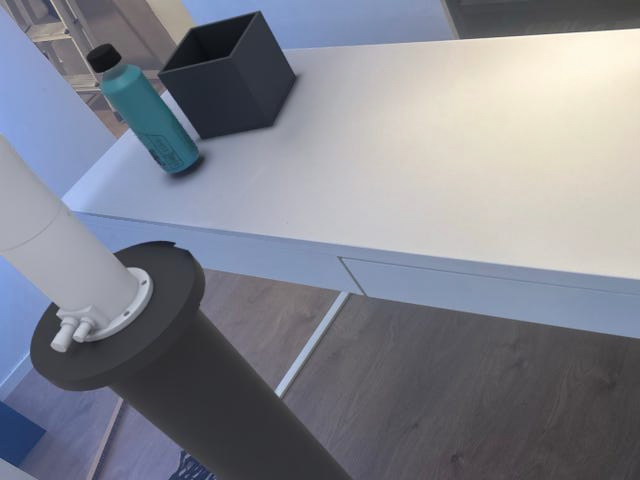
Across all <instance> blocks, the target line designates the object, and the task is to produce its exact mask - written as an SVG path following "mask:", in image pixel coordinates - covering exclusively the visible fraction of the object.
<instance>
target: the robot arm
mask: <svg viewBox="0 0 640 480" xmlns="http://www.w3.org/2000/svg"><path fill="white" fill-rule="evenodd" d="M0 256H1V257H2V258H4V259H5V261H7V263H9V264H10V265H11V266H12V267H13V268H15V269H16V270H17V271H18V272H19V273H20V274H21V275H23V277H25V278H26V280H28V281H29V282H30V283H32V284H33V285H34V287H36V288H37V289H38V290H39V291H41V292H42V294H44V295H45V296H46V297H47V298H48V299H49V300H50V301H51V302H52V301H53V302H54V303H55V304H56V305H57V306H58V307H59V308H60V309H59V311H58V312H57V314H56V315H57V316H58V317H59V318H60V319H62V320H63V321H62V322H61V324H60V325H61V327H62V328H61V330H60V331H59V333H57V335H56V337H55V338H54V340H53V341H52V343H51V347H52V348H53V349H55V350H57V351H59V352H66V351H67V349H68V347H69V346H70V344H71V342H72V341H73V340H72V339H74V340H75V341H78V342H83V341H87V342H90V341H97V340H101V339H104V338H107V337H109V336H111V335H114V334H115V333H117V332H119V331H121V330H122V329H123V328H125V327H126V326H128V325H129V324H130V323H131V322H132V321H134V320H135V319H136V318H137V317H138V316H139V315H140V313H141V312H142V311H143V310H144V308H145V307H146V306H147V304H148V302H149V300H150V299H151V296H152V293H153V286H154V285H153V280H152V279H151V277H150V276H149V275H148V274H147V273H146V272H145V271H144V270H142V269H139V268H126V267H125V266H124V265H123V264H122V263H121V262H120V261H119V260H118V259H117V258H116V257H115V256H114V255H113V252H112V251H111V250H110V249H109V248H108V246H106V245H105V244H104V243H103V242H102V241H101V240H100V238H98V237H97V235H95V233H93V232H92V231H91V229H90V228H89V227H88V226H87V225H86V224H85V223H84V222H83V220H81V219H80V218H79V217H78V216H77V214H75V213H74V212H73V210H72V209H71V208H69V206H68V205H67V204H66V203H65V202H64V201H63V199H61V198H60V197H59V196H58V195H57V194H56V193H55V192H54V191H53V190H52V189H51V188H50V187H49V186H48V185H47V184H46V182H44V180H43V179H42V178H41V177H40V176H39V175H38V174H37V173H36V172H35V171H34V170H33V169H32V167H31V166H30V165H29V164H28V163H27V162H26V161H25V159H24V158H23V157H22V155H21V154H20V153H19V152H18V150H16V148H15V147H14V145H12V144H11V142H10V141H9V139H8V138H7V137H6V136H5V135H4V134H3V133H2V132H1V131H0Z"/></svg>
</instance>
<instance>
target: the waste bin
mask: <svg viewBox="0 0 640 480" xmlns="http://www.w3.org/2000/svg"><path fill="white" fill-rule="evenodd" d="M156 76H157V78H158V79H159V80H160V82H161V83H162V84H163V87H165V89H166V90H167V92H168V93H169V94H170V96H171V97H172V100H174V102H175V103H176V105H177V106H178V107H179V109H180V110H181V111H182V114H183V115H184V116H185V117H186V119H187V120H188V122H189V123H190V124H191V126H192V127H193V129H194V130H195V131H196V133H197V134H198V136H199V137H200V139H201V140H206V139H212V138H215V137H216V138H217V137H221V136H226V135H231V134H236V133H242V132H246V131H252V130H258V129H263V128H267V127H272V126H273V124H274V122H275V120H276V118H277V116H278V115H279V112H280V110H281V109H282V106H283V104H284V103H285V101H286V99H287V97H288V95H289V93H290V91H291V89H292V87H293V85H294V83H295V81H296V79H297V75H296V74H295V72H294V70H293V68H292V67H291V65H290V63H289V61H288V59H287V57H286V55H285V53H284V52H283V50H282V48H281V45H280V44H279V43H278V40H277V39H276V37H275V34H274V33H273V31H272V29H271V27H270V26H269V24H268V22H267V20H266V18H265V17H264V14H263V12H262V11H261V10H256V11H252V12H248V13H244V14H241V15H237V16H233V17H232V16H231V17H228V18H223V19H221V20H216V21H212V22H209V23H205V24H201V25H197V26H193V27H190V28H189V29H188V31H187V32H186V33H185V35H184V36H183V38H181V40H180V42H179V43H178V45H177V46H176V47H175V48H174V50H173V51H172V53H171V54H170V56H169V57H168V58H167V60H166V61H165V63H164V64H163V65H162V67H161V68H160V69H159V71H158V73H157V74H156Z"/></svg>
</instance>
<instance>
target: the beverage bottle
mask: <svg viewBox="0 0 640 480" xmlns="http://www.w3.org/2000/svg"><path fill="white" fill-rule="evenodd" d="M122 58H123V57H122V55H121V53H120V52H119V51H118V50H117V49H116V48H115V46H113V45H112V43H109V42H107V43H103V44H100V45H98V46H96V47H94V48H93V49H92V50H91V51H89V52H88V53H87V54H86V57H85V59H86V61H87V62H88V64H89V66H90V67H91V69H92V71H93V72H94V73H96V74H102V73H105V72H106V73H105V74H104V75H103V76H102V78H101V81H100V92H101V94H102V95H103V96H104V97H105V98H106V100H107V101H108V102H109V103H110V104H111V106H112V107H113V108H114V110H115V111H116V112H117V113H118V114H119V116H120V118H121V120H122V121H123V122H124V123H125V124H126V126H127V127H128V128H129V129H130V131H132V133H133V135H134V136H135V137H136V138H137V140H138V141H139V142H140V144H141V145H142V146H143V147H144V148H145V150H146V151H147V153H149V155H150V156H151V157H152V159H153V160H154V162H155V163H156V164H157V165H158V166H159V167H160V168H161V169H162V171H165V172H166V173H167V174H176V173H179V172H181V171H184V170H185V169H187V168H189V167H191V165H193V164H194V163H195V162H196V161H197V159H198V158H199V156H200V150H199V146H198V145H197V144H196V141H195V140H194V139H193V137H192V136H191V135H190V134H189V132H188V130H187V129H186V128H185V127H184V125H183V124H182V123H181V122H180V120H179V119H178V117H177V116H176V115H175V113H174V111H173V110H172V109H171V108H170V106H169V105H168V104H167V102H166V101H165V100H163V98H162V97H161V95H160V94H159V93H158V92H157V90H156V88H155V87H154V86H153V84H152V83H151V81H149V79H148V78H147V76H146V75H145V73H143V70H142V69H141V68H140V67H139V66H137V65H133V64H130V63H122V64H119V63H120V62H122V61H121V60H122ZM118 64H119V65H118Z"/></svg>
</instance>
